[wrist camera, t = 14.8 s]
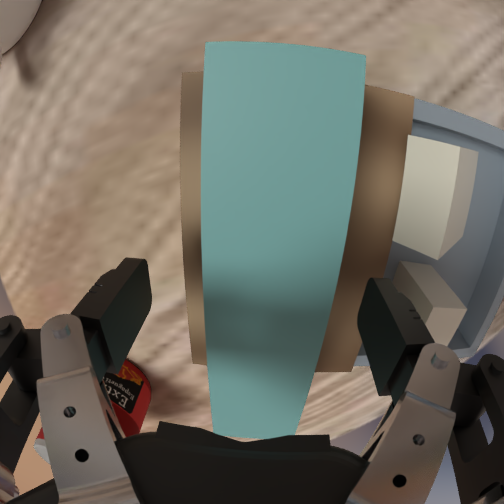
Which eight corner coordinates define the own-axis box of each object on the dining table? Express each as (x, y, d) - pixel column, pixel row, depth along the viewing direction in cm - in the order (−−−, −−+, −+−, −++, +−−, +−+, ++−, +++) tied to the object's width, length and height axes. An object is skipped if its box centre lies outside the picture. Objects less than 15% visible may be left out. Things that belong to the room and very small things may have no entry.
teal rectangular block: (230, 70, 10) (205, 42, 6) (328, 77, 10) (366, 55, 6) (225, 366, 17) (213, 434, 13) (290, 370, 17) (292, 439, 13)
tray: (386, 98, 13) (409, 96, 11) (516, 142, 13) (544, 151, 10) (342, 336, 20) (349, 366, 18) (458, 332, 20) (473, 356, 17)
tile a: (407, 134, 11) (460, 146, 9) (439, 141, 14) (478, 151, 12) (392, 240, 13) (437, 260, 11) (427, 222, 16) (462, 236, 14)
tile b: (433, 307, 12) (467, 309, 12) (399, 260, 17) (430, 265, 17) (396, 376, 15) (429, 374, 15) (375, 323, 19) (405, 325, 19)
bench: (200, 80, 14) (182, 72, 11) (386, 98, 13) (414, 96, 10) (202, 328, 21) (192, 363, 18) (342, 336, 20) (351, 371, 17)
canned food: (153, 363, 23) (110, 476, 13) (154, 410, 26) (126, 501, 16) (76, 337, 23) (17, 430, 13) (89, 388, 26) (50, 468, 16)
